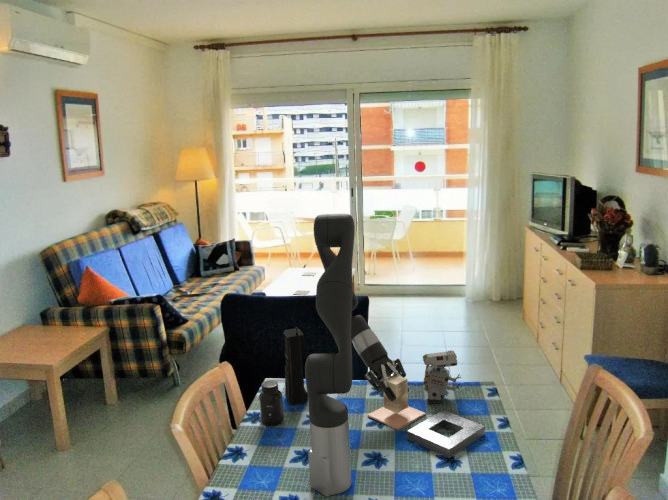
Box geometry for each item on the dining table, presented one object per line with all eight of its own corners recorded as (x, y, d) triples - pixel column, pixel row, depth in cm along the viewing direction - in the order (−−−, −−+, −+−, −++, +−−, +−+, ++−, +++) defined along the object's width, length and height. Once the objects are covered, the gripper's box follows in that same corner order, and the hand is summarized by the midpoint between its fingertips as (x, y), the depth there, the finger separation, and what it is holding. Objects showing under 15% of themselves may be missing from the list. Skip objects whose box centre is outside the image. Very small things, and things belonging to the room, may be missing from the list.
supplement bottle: (257, 426, 175) (254, 388, 172) (265, 415, 181) (262, 378, 179) (279, 428, 173) (276, 389, 170) (287, 416, 179) (284, 379, 177)
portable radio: (284, 395, 193) (278, 322, 188) (302, 392, 195) (297, 319, 190) (289, 406, 186) (284, 330, 181) (308, 402, 188) (303, 327, 183)
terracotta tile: (398, 430, 168) (398, 428, 168) (367, 416, 177) (367, 414, 177) (425, 414, 176) (425, 412, 176) (394, 402, 185) (394, 400, 185)
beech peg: (396, 413, 173) (396, 384, 171) (384, 407, 176) (383, 379, 175) (408, 407, 176) (407, 379, 174) (395, 402, 180) (394, 374, 178)
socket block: (449, 458, 153) (449, 449, 153) (407, 439, 164) (407, 430, 163) (484, 434, 164) (484, 426, 163) (443, 417, 174) (443, 409, 174)
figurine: (460, 405, 181) (460, 359, 178) (422, 403, 183) (421, 357, 180) (460, 392, 190) (460, 347, 186) (424, 390, 192) (423, 346, 189)
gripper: (358, 348, 173) (390, 399, 167) (391, 334, 182) (423, 382, 176) (346, 360, 178) (377, 410, 172) (379, 347, 187) (409, 394, 181)
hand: (400, 396), depth 174 cm, fingers closed on beech peg, 5 cm apart
